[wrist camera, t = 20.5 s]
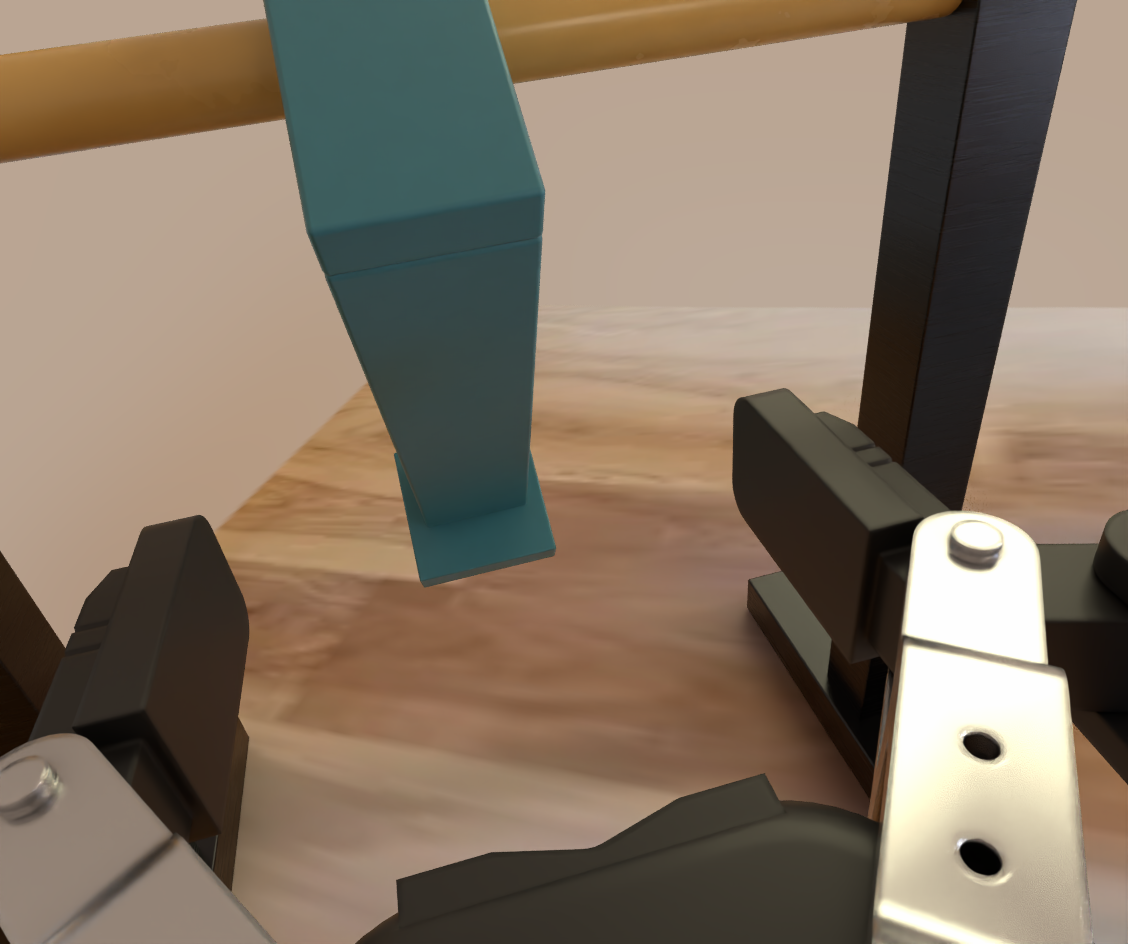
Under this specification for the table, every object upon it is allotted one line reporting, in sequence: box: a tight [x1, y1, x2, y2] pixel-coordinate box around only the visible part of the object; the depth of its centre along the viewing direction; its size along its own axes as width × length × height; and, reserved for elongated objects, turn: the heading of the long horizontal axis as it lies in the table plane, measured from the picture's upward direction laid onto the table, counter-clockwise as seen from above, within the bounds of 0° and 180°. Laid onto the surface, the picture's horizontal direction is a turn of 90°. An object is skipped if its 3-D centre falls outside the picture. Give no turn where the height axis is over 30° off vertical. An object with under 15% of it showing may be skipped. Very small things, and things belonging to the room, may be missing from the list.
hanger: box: [263, 0, 556, 587], centre depth 18 cm, size 10×4×15 cm
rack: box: [0, 0, 1077, 891], centre depth 18 cm, size 12×25×23 cm, turn 104°
